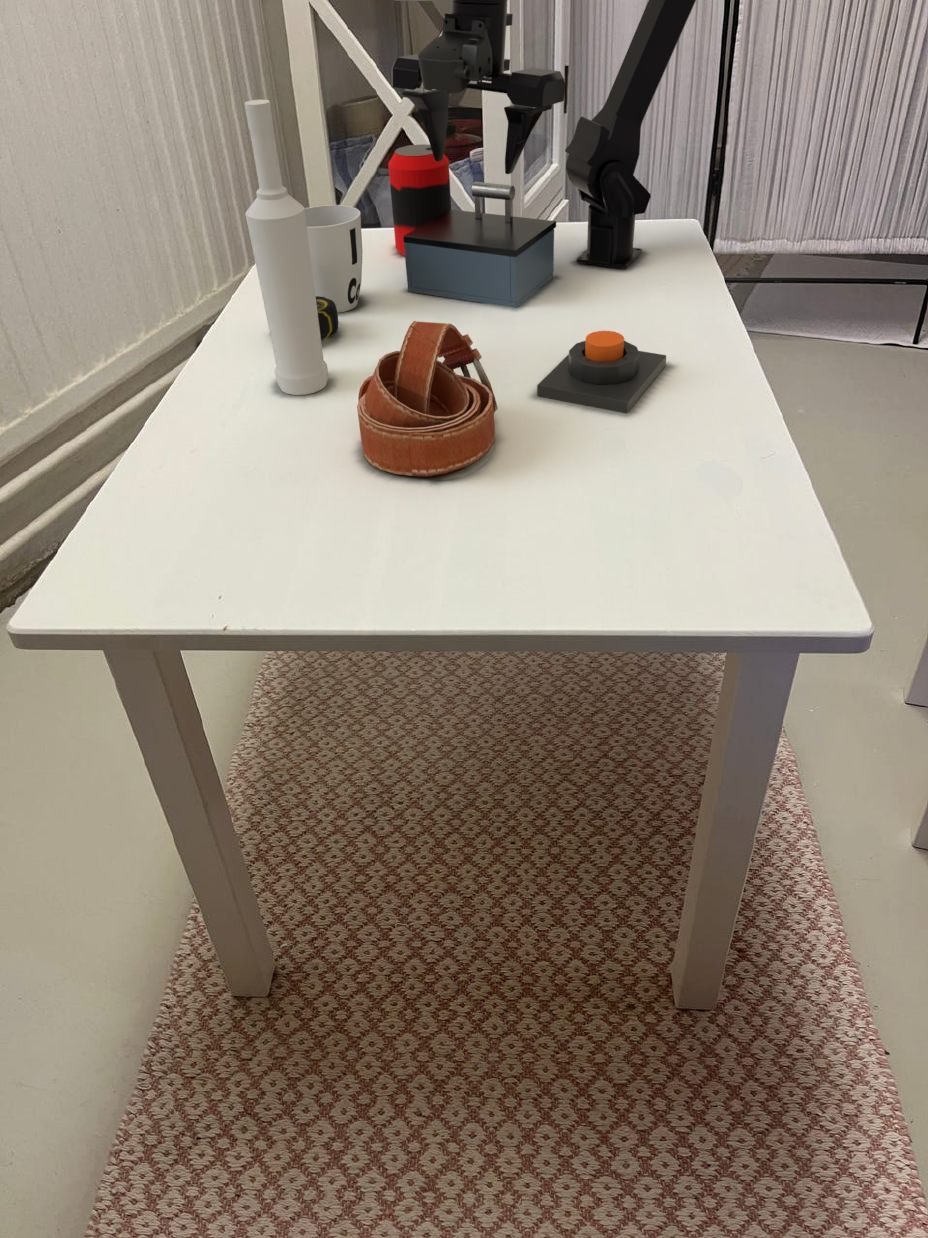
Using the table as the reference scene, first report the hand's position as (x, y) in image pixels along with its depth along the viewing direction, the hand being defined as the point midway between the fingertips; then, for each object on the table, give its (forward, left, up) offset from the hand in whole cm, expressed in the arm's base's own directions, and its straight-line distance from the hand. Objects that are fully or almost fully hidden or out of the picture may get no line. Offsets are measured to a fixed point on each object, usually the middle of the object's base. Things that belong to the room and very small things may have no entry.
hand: (473, 167), depth 105 cm
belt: (+37, +14, -13) cm, 42 cm away
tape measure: (+22, -10, -13) cm, 28 cm away
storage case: (+1, +1, -13) cm, 13 cm away
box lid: (+1, +1, -7) cm, 7 cm away
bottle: (+32, -3, -13) cm, 35 cm away
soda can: (-8, -12, -13) cm, 19 cm away
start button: (+20, +24, -10) cm, 33 cm away
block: (+20, +24, -13) cm, 34 cm away
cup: (+13, -12, -13) cm, 22 cm away
